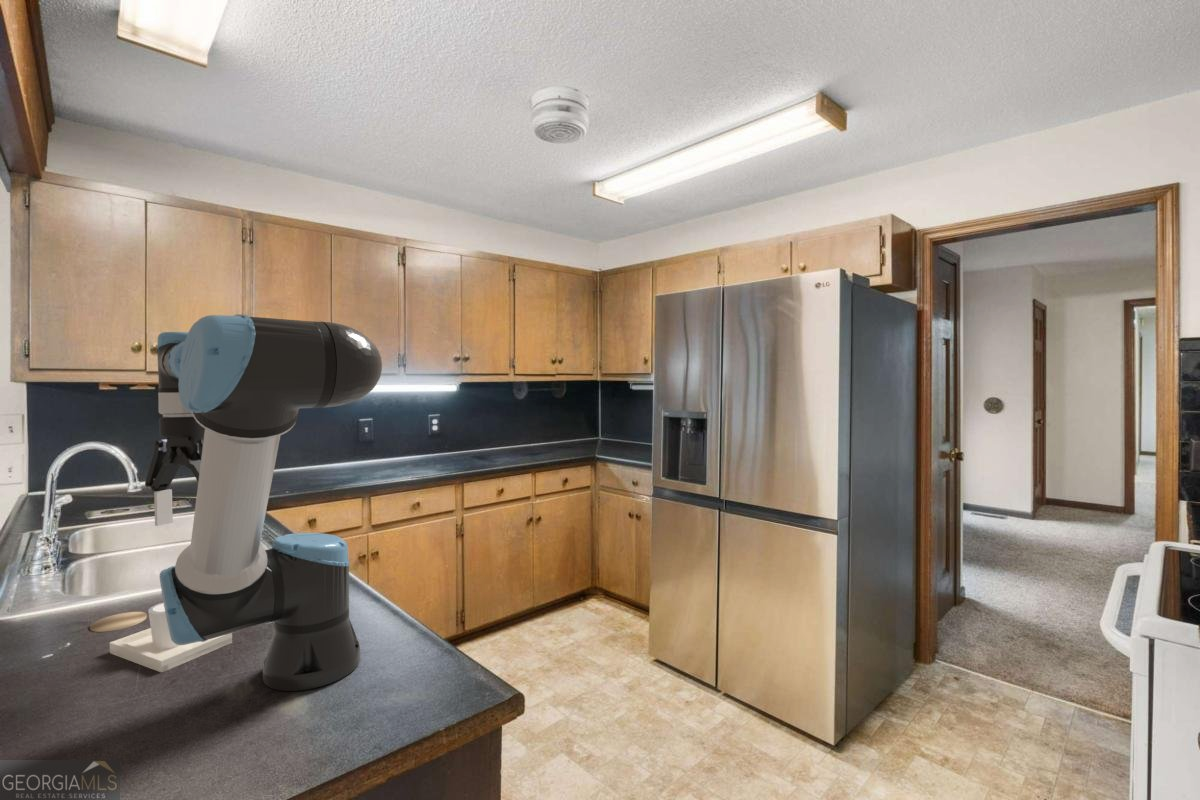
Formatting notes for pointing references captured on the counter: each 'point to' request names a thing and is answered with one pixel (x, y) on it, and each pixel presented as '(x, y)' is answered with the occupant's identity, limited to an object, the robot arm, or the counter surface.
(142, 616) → the cork coaster
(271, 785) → the counter surface
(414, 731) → the counter surface
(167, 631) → the white cup
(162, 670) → the tray
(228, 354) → the robot arm
